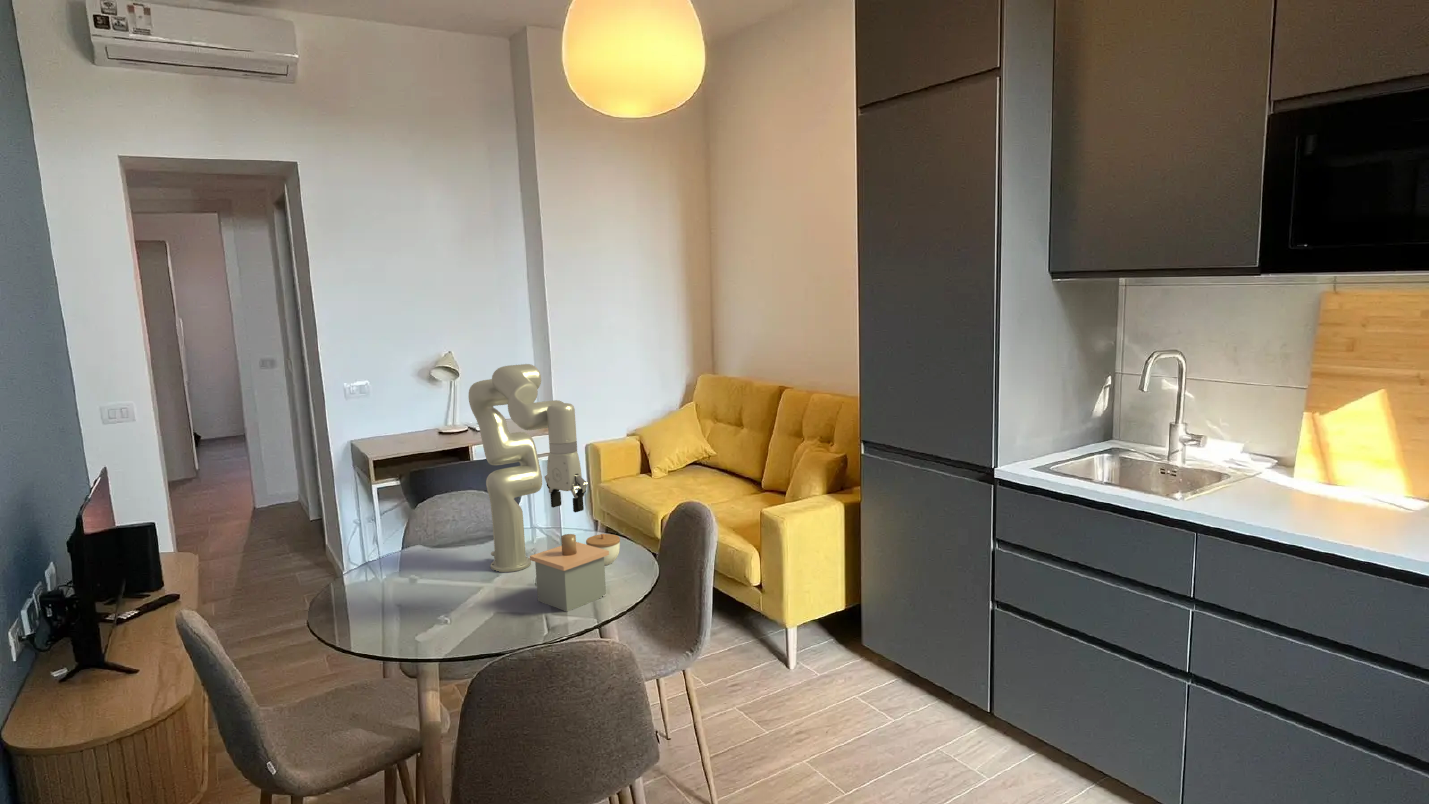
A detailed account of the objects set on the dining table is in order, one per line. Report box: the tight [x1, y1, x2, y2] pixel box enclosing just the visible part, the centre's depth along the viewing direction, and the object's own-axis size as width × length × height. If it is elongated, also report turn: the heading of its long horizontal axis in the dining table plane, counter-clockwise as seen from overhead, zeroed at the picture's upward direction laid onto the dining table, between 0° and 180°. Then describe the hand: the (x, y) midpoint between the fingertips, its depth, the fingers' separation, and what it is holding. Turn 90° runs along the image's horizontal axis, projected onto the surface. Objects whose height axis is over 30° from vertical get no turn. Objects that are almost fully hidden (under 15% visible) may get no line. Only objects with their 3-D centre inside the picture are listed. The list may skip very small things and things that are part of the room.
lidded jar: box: [585, 533, 621, 566], centre depth 254 cm, size 11×11×9 cm
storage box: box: [534, 557, 607, 612], centre depth 224 cm, size 13×14×12 cm
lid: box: [529, 533, 609, 571], centre depth 223 cm, size 15×16×7 cm
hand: (567, 508), depth 221 cm, fingers open, 9 cm apart
